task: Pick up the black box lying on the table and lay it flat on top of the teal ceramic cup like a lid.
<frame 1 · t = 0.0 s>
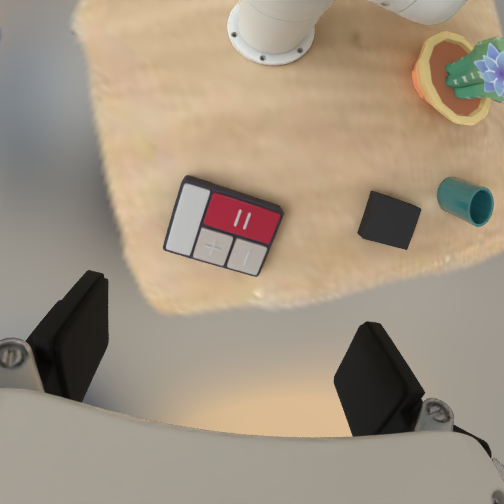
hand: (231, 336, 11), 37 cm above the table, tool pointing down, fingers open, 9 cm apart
calculator: (222, 223, 47), on the table
cup: (450, 194, 47), on the table
black box: (386, 218, 48), on the table
potted cactus: (432, 81, 40), on the table
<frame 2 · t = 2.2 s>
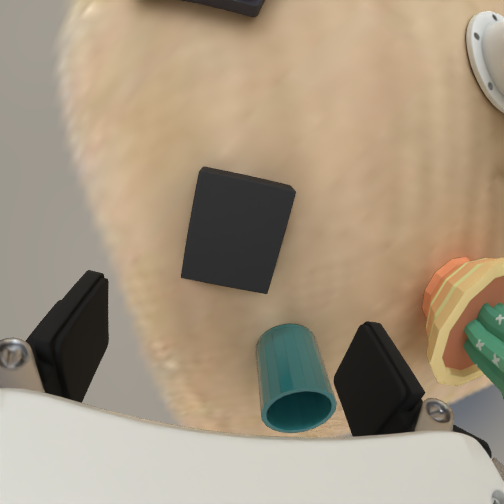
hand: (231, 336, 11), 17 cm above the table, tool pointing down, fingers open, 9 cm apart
cup: (286, 348, 32), on the table
black box: (235, 226, 27), on the table
potted cactus: (451, 291, 31), on the table
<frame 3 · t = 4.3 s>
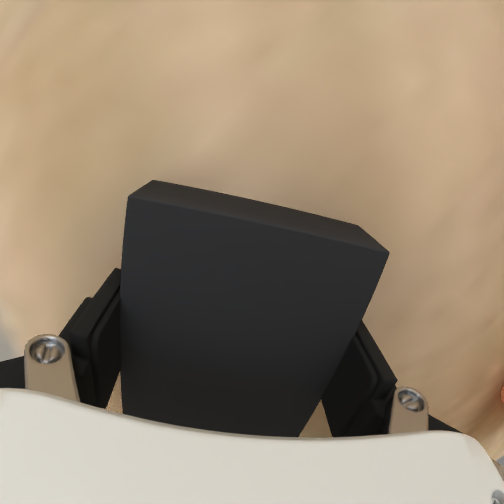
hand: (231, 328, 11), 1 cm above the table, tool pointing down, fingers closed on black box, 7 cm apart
black box: (232, 314, 12), on the table, touching gripper
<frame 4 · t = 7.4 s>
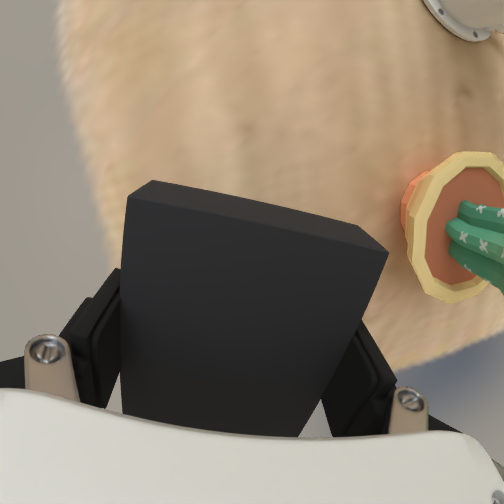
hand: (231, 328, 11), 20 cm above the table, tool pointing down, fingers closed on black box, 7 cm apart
black box: (231, 314, 12), point 19 cm above the table, touching gripper
potted cactus: (430, 208, 31), on the table
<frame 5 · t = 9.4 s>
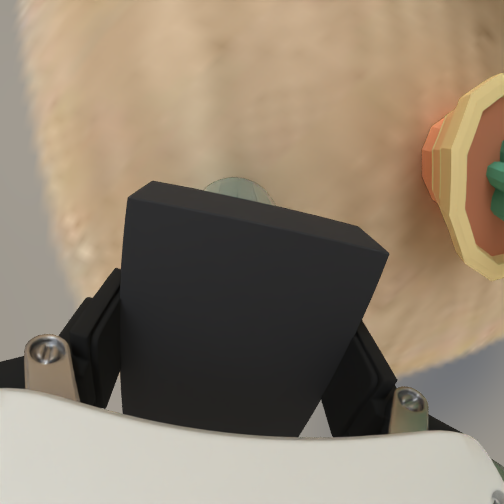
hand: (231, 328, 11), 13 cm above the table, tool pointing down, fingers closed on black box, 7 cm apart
cup: (233, 220, 23), on the table
black box: (231, 315, 12), point 12 cm above the table, touching gripper
potted cactus: (457, 163, 22), on the table
when the fingers open (10 cm above the table, at t = 10.9 s): black box stays where it is, resting on cup.
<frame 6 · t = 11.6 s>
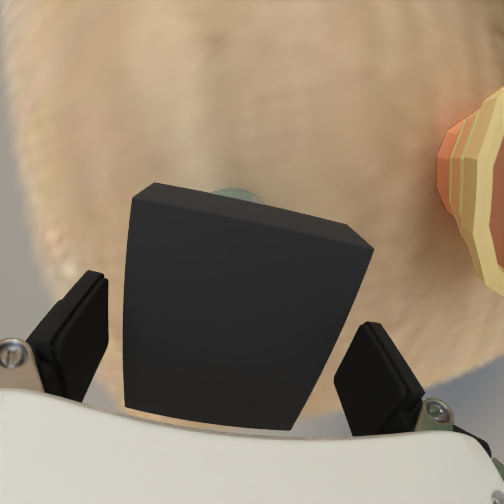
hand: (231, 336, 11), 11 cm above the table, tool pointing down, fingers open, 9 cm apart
cup: (230, 236, 21), on the table, touching black box
black box: (228, 308, 13), point 9 cm above the table, touching cup
potted cactus: (472, 171, 20), on the table
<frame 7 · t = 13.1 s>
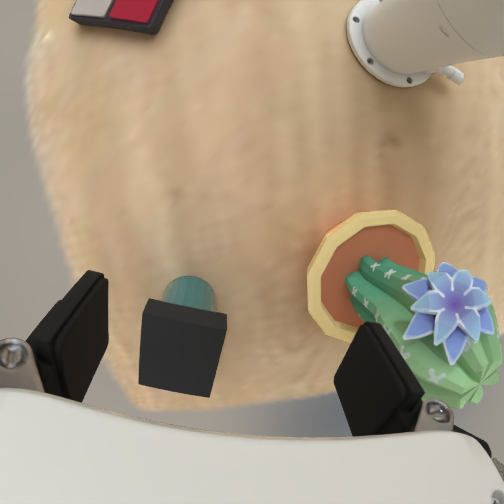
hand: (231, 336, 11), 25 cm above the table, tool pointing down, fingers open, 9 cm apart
cup: (189, 299, 38), on the table, touching black box
black box: (181, 343, 30), point 9 cm above the table, touching cup
potted cactus: (349, 254, 38), on the table
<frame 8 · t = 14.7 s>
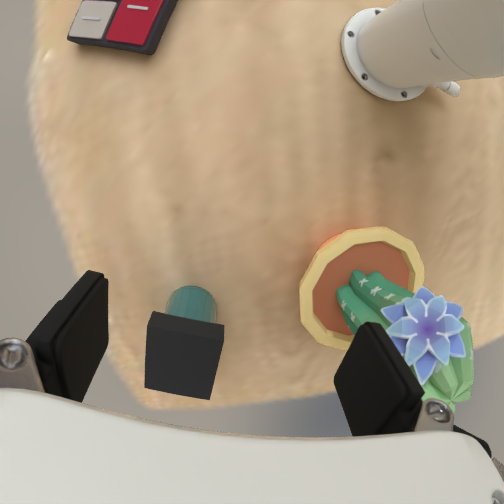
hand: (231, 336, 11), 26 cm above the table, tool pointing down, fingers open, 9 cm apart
cup: (192, 307, 40), on the table, touching black box
black box: (183, 351, 32), point 9 cm above the table, touching cup
potted cactus: (343, 264, 39), on the table
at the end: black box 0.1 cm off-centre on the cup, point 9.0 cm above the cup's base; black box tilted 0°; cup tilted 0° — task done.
